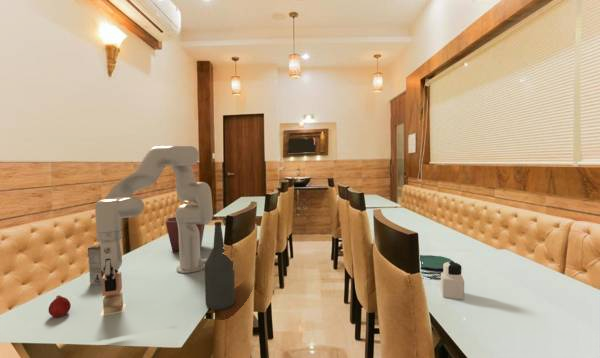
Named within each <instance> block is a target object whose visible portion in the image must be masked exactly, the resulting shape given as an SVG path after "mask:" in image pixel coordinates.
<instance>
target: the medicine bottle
mask: <svg viewBox="0 0 600 358" xmlns="http://www.w3.org/2000/svg"><path fill="white" fill-rule="evenodd" d="M454 262H455V261H454ZM454 262H446V263H444V264H443V270H442V271H443V273H441V274H440V275H441V276H440V278H441V279H440V292H441V295H442V298H443V299H454V300H465V280H464V278H463V276H462V265H461V264H460V263H458V262H455V263H454Z"/></svg>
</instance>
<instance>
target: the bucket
mask: <svg viewBox="0 0 600 358" xmlns="http://www.w3.org/2000/svg"><path fill="white" fill-rule="evenodd" d="M165 226H166V229H167V234H168V239H169V243H170V247H171V250H172V253H177V254H179V232H178V225H177V221H176V216H172V217H167V218H165ZM196 226H197V227H198V229H199V234H200V249H201V248H202V244H203V237H204V232H205V231H204V230H205V226H206V224H196Z"/></svg>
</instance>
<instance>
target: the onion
mask: <svg viewBox="0 0 600 358" xmlns="http://www.w3.org/2000/svg"><path fill="white" fill-rule="evenodd" d="M55 297H56V298H54V300H52V301H51V302H50V304H49V306H48V313H49V315H50V316H52V317H53V318H61V317H64V316H66V315H67V314H68V313H69V311H70V310H71V307H72V305H71V302H70V300H69V299H68V298H66V297H65V296H61V294H60V295H59V294H58V295H56V296H55Z"/></svg>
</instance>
